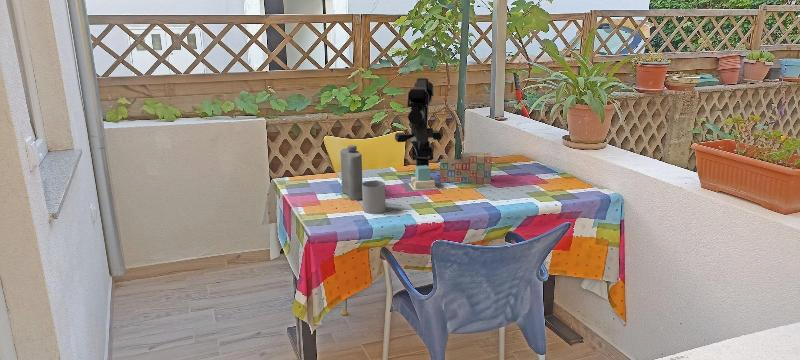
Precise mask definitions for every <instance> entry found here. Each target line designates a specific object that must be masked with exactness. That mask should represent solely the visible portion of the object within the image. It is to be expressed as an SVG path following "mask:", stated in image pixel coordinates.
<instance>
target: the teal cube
mask: <svg viewBox="0 0 800 360" xmlns="http://www.w3.org/2000/svg"><path fill="white" fill-rule="evenodd" d="M414 168H415V169H414V170H415V171H414V174H415V176H414V177H415V178H416V179H417V180H418V181H427V180H430V177H431V168H430V166H429V167H428V166H427V165H424V166H416V165H415V167H414Z"/></svg>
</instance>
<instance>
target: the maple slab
mask: <svg viewBox="0 0 800 360" xmlns="http://www.w3.org/2000/svg"><path fill="white" fill-rule="evenodd" d="M435 181H436V180H435V179H433V177H431V176H430V180H427V181H418V180H417V179H416V178H415V176H411V177H410V183H411V185H412V186H413V187H414V188H415V189H429V188H435Z"/></svg>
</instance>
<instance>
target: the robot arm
mask: <svg viewBox="0 0 800 360" xmlns="http://www.w3.org/2000/svg"><path fill="white" fill-rule="evenodd" d="M434 90H435V89H434V83H432V82H430V81H429V78H427V77H418V78H416V82H415V84H414V87H412V88H410V89H409V91H408V93H407V105H406V106H407V108H410V111H409V113H408V114H407V115H408V116H407V118H408V119H407V120H408V122H409V123H410V125H411V126H410V128H411V129H410V134H409V133H408V134H407V133H405V132H396V133H395V134H394V140H395V141H396V142H397V143H405V142H407V140H408V141H409V142H410V143H411V144H412V149H411V150H412V152H411V153H412V160H413V161H415V166H424V165H427V166H428V167H430V161H433V160H434V149H433V147H432V146H431V143H430V141H429V138H432V139H433V140H434V141H436V140H437V141H439V140H442V138H443V136H442V133H441V132H440V131H439V130H434V128H433V127H428V124H429V106H430V104H431V103H432V101H433V97H434V94H435V93H434V92H435V91H434ZM413 171H414V172H415V169H413Z"/></svg>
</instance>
